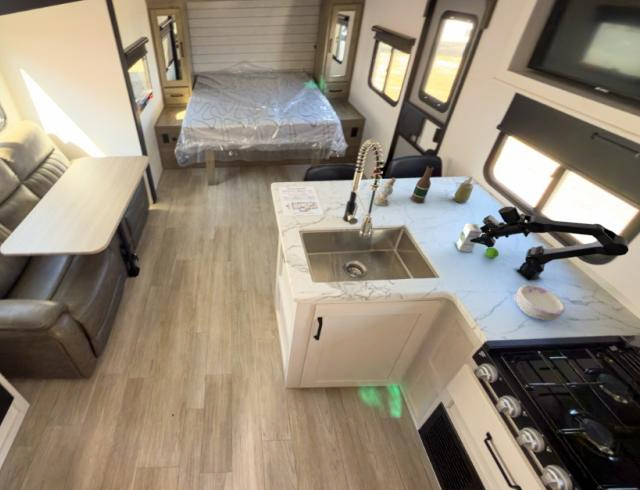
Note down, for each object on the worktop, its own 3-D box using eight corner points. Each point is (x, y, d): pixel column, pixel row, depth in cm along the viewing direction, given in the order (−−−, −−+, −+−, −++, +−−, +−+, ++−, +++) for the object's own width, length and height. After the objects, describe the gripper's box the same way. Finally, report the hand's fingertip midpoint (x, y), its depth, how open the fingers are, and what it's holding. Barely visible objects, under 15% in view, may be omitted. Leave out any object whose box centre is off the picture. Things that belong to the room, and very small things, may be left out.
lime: (498, 259, 161) (503, 251, 158) (489, 260, 161) (494, 253, 157) (489, 252, 165) (494, 244, 162) (481, 253, 165) (485, 246, 162)
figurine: (387, 208, 197) (396, 180, 185) (373, 204, 200) (381, 177, 188) (389, 200, 203) (398, 173, 191) (376, 197, 206) (384, 170, 195)
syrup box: (470, 252, 165) (483, 231, 157) (458, 250, 166) (470, 230, 158) (466, 244, 170) (478, 224, 161) (454, 243, 171) (466, 222, 162)
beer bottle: (411, 202, 201) (424, 169, 187) (410, 195, 207) (422, 163, 193) (424, 204, 200) (438, 171, 185) (422, 197, 206) (436, 165, 191)
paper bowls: (535, 294, 143) (545, 283, 139) (563, 324, 131) (575, 313, 127) (502, 295, 143) (511, 284, 138) (528, 325, 131) (538, 314, 126)
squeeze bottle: (449, 198, 204) (460, 174, 193) (458, 195, 207) (469, 172, 196) (461, 205, 198) (473, 181, 188) (469, 202, 201) (482, 178, 190)
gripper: (503, 205, 155) (468, 214, 167) (497, 224, 144) (459, 232, 156) (514, 225, 155) (478, 232, 168) (509, 245, 144) (471, 251, 157)
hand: (472, 236), depth 162 cm, fingers open, 9 cm apart
